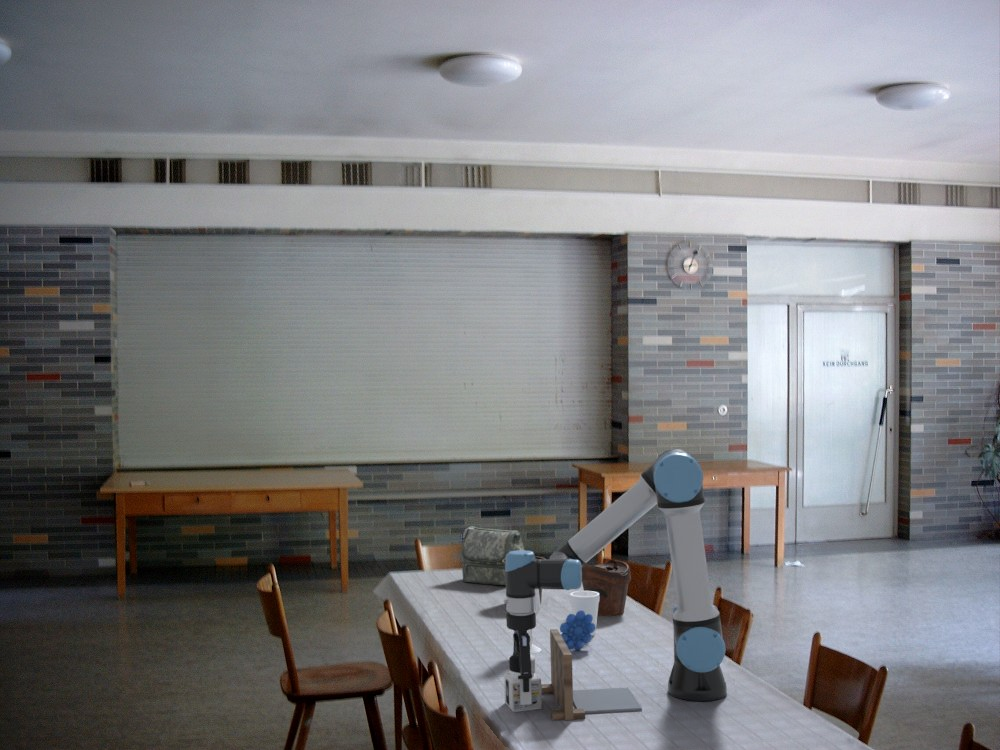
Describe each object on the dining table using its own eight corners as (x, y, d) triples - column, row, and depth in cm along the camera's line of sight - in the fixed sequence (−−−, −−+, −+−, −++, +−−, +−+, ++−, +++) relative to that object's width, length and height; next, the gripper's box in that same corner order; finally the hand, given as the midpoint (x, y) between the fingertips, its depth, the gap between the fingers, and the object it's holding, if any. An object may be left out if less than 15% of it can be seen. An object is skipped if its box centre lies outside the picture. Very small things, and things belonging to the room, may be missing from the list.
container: (512, 712, 244) (511, 660, 244) (504, 702, 252) (503, 652, 252) (542, 709, 246) (541, 657, 246) (533, 699, 254) (531, 649, 254)
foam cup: (598, 638, 310) (597, 597, 310) (569, 637, 312) (568, 596, 312) (601, 630, 320) (600, 590, 320) (573, 629, 321) (572, 590, 321)
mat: (642, 710, 244) (641, 707, 244) (578, 713, 242) (578, 711, 242) (627, 689, 260) (627, 687, 260) (568, 692, 258) (568, 690, 258)
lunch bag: (454, 582, 399) (453, 529, 399) (478, 574, 415) (477, 522, 415) (508, 588, 385) (507, 533, 385) (531, 579, 401) (530, 526, 401)
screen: (585, 719, 239) (584, 653, 238) (553, 721, 238) (551, 655, 238) (569, 687, 262) (568, 628, 262) (540, 689, 262) (538, 629, 262)
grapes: (591, 644, 304) (590, 606, 304) (598, 650, 297) (597, 611, 297) (555, 647, 301) (554, 608, 301) (561, 653, 294) (560, 614, 294)
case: (631, 604, 354) (629, 555, 354) (633, 618, 334) (631, 566, 334) (582, 605, 356) (580, 556, 356) (581, 619, 336) (579, 567, 336)
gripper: (501, 601, 261) (503, 680, 261) (511, 625, 236) (513, 712, 236) (529, 600, 262) (531, 679, 262) (542, 623, 237) (544, 710, 237)
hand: (522, 695), depth 249 cm, fingers open, 13 cm apart
